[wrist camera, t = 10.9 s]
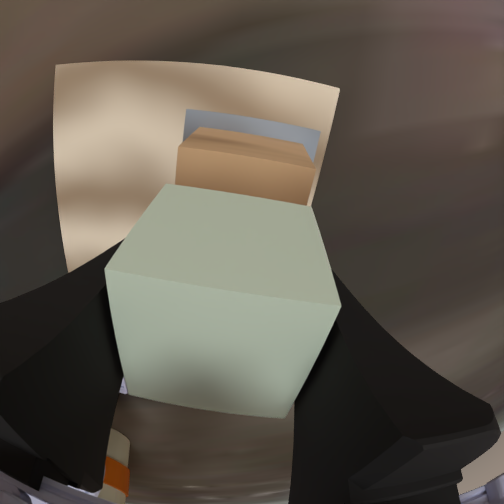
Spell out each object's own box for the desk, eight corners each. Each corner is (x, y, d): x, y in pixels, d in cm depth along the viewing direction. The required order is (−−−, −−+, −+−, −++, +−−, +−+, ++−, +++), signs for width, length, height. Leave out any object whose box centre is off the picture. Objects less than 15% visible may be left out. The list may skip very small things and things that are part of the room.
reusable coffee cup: (54, 408, 37) (25, 487, 24) (118, 419, 36) (92, 514, 23) (93, 444, 44) (74, 512, 31) (153, 454, 42) (138, 532, 30)
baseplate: (271, 330, 24) (271, 341, 23) (80, 295, 23) (74, 304, 22) (335, 87, 15) (340, 88, 14) (64, 64, 14) (54, 65, 13)
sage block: (280, 314, 12) (284, 418, 8) (163, 295, 11) (128, 394, 8) (311, 206, 9) (341, 305, 6) (165, 183, 9) (104, 268, 5)
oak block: (281, 232, 19) (286, 279, 15) (189, 218, 18) (170, 261, 14) (302, 143, 16) (316, 169, 12) (199, 126, 15) (178, 146, 12)
